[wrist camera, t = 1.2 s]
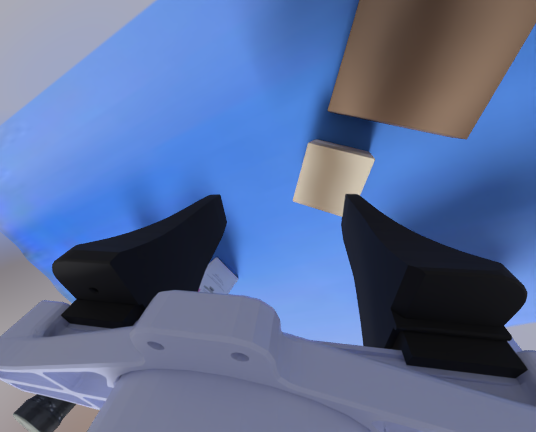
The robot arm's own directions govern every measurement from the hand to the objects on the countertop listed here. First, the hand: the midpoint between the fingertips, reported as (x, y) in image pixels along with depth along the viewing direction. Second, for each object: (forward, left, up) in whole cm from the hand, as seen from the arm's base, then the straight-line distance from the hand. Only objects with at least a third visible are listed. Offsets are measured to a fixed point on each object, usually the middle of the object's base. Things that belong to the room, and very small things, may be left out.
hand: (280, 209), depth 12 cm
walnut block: (-5, -11, -12) cm, 17 cm away
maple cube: (-2, -1, -11) cm, 11 cm away
